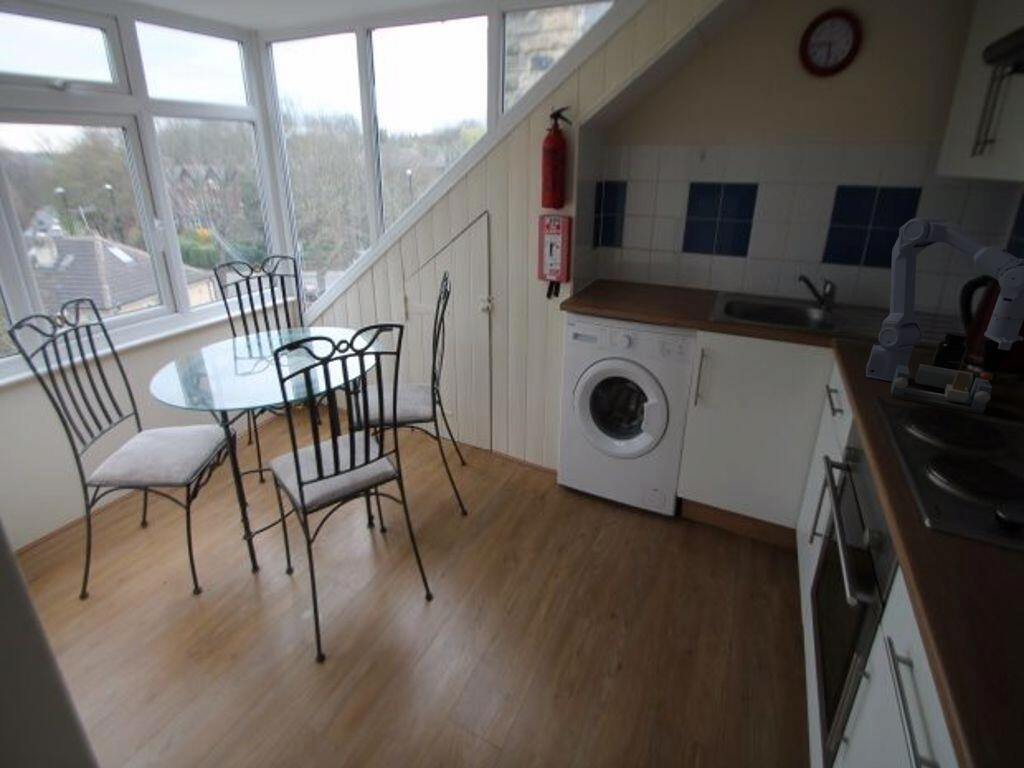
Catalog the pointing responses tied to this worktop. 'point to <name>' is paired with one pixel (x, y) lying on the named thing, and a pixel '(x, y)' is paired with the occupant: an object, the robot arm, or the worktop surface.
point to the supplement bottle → (950, 351)
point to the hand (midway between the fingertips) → (988, 370)
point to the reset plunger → (986, 376)
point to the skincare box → (938, 376)
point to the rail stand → (972, 404)
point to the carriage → (958, 387)
